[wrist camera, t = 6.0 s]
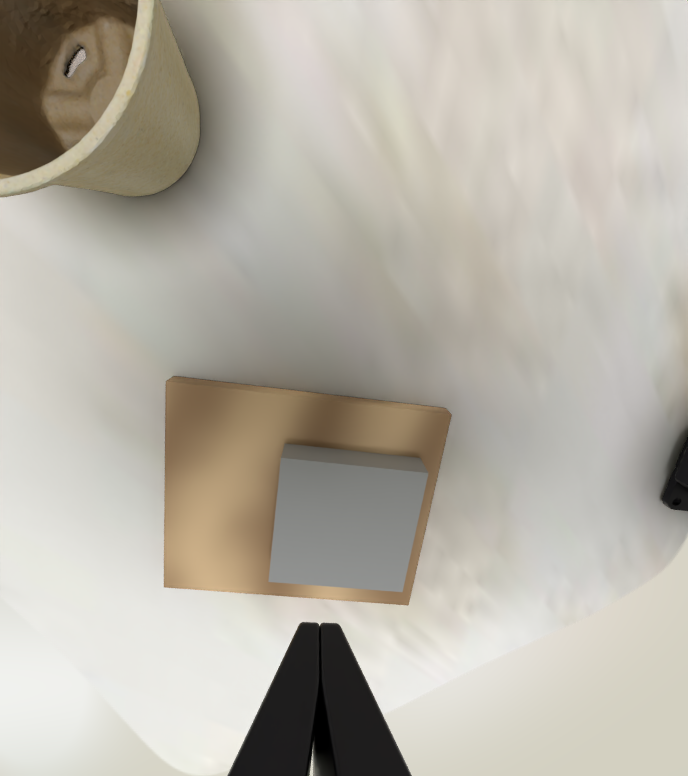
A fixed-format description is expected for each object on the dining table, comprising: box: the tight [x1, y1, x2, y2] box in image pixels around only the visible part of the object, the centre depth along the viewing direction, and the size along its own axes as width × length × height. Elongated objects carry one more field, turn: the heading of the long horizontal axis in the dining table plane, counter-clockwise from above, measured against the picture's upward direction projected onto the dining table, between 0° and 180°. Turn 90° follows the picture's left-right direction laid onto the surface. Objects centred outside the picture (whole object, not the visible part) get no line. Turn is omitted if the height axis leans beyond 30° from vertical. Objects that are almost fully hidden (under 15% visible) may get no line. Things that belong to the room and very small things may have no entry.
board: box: [164, 376, 451, 605], centre depth 20 cm, size 14×12×1 cm
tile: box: [268, 443, 428, 592], centre depth 19 cm, size 2×7×7 cm
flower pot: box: [0, 0, 200, 197], centre depth 11 cm, size 9×9×9 cm
